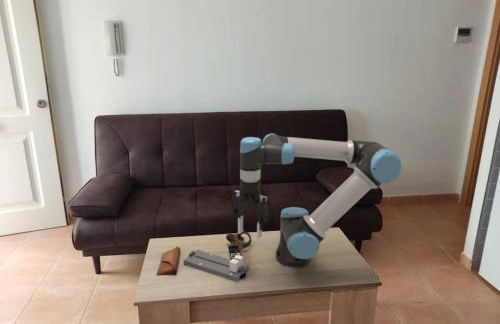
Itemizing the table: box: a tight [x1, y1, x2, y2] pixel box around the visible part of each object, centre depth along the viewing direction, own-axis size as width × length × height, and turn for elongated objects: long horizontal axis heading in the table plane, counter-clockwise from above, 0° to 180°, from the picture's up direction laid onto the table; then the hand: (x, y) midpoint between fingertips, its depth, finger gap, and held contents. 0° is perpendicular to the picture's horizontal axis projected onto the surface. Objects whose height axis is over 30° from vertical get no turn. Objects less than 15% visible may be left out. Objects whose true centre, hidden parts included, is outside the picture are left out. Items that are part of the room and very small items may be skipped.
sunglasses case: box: [155, 246, 181, 276], centre depth 157 cm, size 18×7×7 cm
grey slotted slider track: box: [183, 249, 250, 283], centre depth 155 cm, size 26×10×3 cm, turn 63°
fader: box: [230, 254, 244, 272], centre depth 149 cm, size 3×6×4 cm, turn 153°
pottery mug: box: [225, 230, 252, 252], centre depth 171 cm, size 12×10×8 cm
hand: (249, 234), depth 143 cm, fingers open, 8 cm apart
